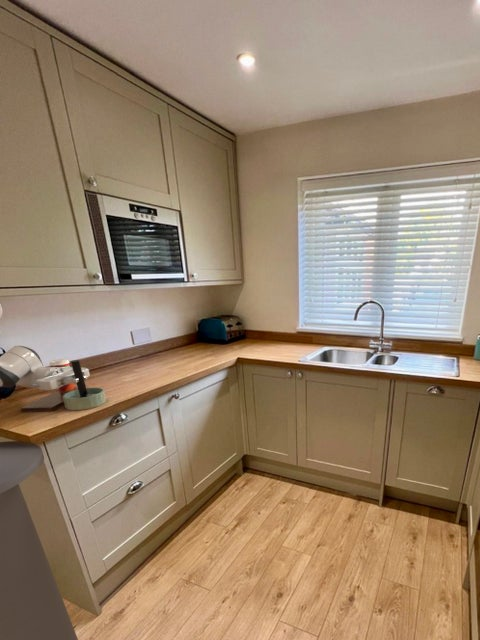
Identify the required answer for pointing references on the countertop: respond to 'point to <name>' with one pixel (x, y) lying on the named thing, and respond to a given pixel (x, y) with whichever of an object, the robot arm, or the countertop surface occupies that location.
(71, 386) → the paper cup
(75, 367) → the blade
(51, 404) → the cutting board
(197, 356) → the countertop surface
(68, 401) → the green bowl
